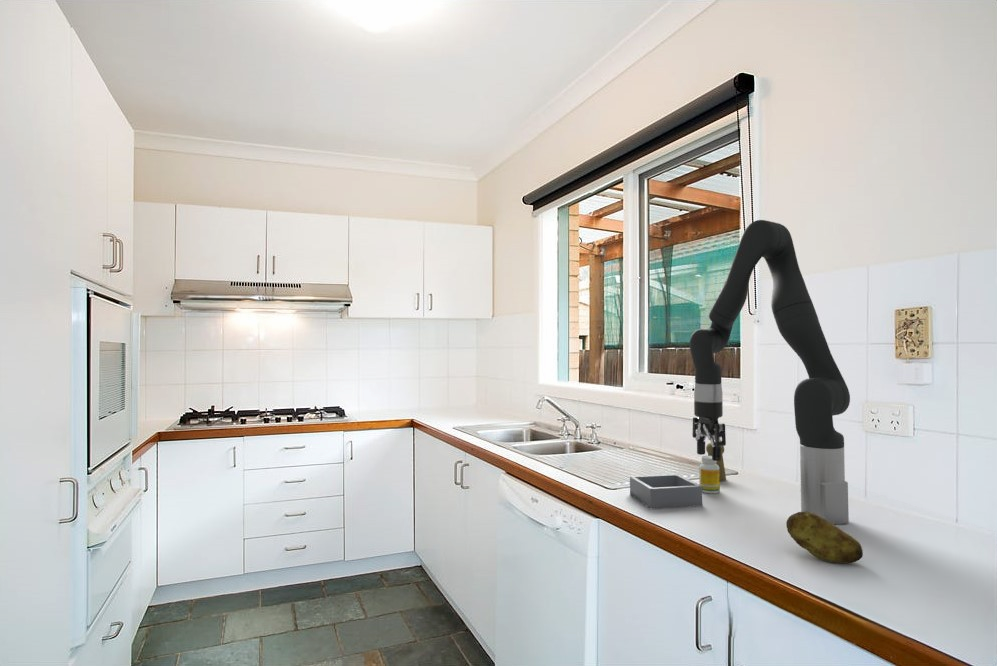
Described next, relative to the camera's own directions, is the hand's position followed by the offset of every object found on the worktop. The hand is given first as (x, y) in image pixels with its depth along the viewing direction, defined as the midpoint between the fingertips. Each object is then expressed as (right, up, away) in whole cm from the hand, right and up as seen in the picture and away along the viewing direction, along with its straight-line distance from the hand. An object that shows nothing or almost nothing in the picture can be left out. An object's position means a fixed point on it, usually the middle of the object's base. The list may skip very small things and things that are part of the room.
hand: (708, 457), depth 168 cm
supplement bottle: (0, -10, -1) cm, 10 cm away
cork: (+7, -10, +14) cm, 18 cm away
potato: (+4, -9, -52) cm, 52 cm away
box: (-15, -10, -9) cm, 20 cm away
